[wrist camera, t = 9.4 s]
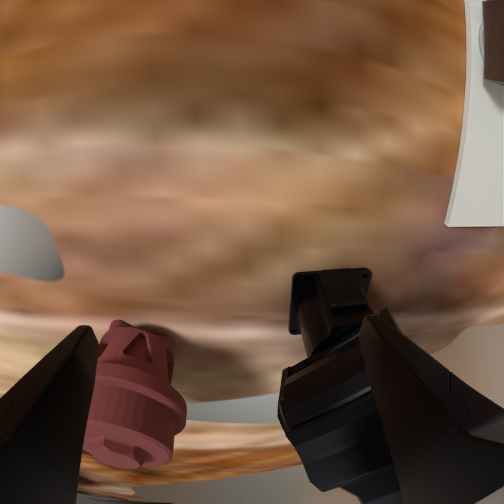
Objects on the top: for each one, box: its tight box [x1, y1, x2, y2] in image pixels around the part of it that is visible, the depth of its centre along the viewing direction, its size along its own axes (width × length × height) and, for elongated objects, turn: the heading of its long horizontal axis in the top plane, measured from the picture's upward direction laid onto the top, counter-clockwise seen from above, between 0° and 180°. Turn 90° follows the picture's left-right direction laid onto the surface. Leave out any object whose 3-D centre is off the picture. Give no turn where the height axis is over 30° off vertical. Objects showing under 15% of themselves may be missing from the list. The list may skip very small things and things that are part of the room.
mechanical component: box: [83, 320, 187, 469], centre depth 22 cm, size 12×10×10 cm
